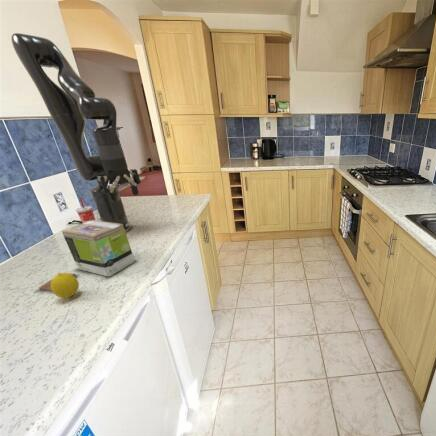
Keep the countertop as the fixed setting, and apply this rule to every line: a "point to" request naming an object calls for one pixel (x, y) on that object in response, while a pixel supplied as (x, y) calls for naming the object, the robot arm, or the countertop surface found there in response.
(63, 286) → the lemon
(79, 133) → the robot arm
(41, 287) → the tea sachet
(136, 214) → the countertop surface
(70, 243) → the tea box
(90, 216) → the beverage cup
